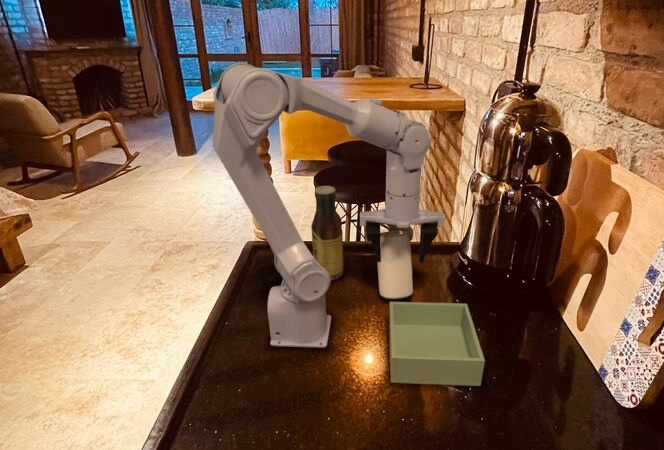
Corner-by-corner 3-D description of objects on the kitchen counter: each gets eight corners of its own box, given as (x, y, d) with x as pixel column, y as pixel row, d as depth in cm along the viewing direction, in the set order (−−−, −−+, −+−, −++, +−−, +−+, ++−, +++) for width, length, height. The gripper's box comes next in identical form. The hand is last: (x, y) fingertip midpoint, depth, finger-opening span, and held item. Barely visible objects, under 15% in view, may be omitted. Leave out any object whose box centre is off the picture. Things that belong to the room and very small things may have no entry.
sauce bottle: (318, 265, 90) (313, 181, 81) (345, 267, 89) (343, 182, 81) (311, 282, 84) (305, 194, 76) (341, 284, 84) (338, 195, 75)
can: (411, 299, 75) (408, 235, 73) (377, 300, 76) (372, 237, 75) (414, 289, 81) (410, 230, 79) (382, 289, 82) (378, 231, 81)
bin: (390, 382, 61) (391, 357, 58) (388, 324, 72) (389, 301, 70) (480, 386, 60) (485, 360, 58) (463, 326, 72) (467, 303, 69)
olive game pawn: (414, 279, 85) (417, 232, 80) (386, 279, 85) (387, 232, 80) (411, 263, 91) (414, 219, 86) (384, 263, 91) (385, 219, 86)
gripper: (359, 199, 65) (359, 270, 71) (450, 199, 65) (443, 271, 71) (360, 184, 72) (360, 250, 78) (443, 184, 71) (437, 251, 77)
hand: (399, 259), depth 75 cm, fingers open, 7 cm apart
